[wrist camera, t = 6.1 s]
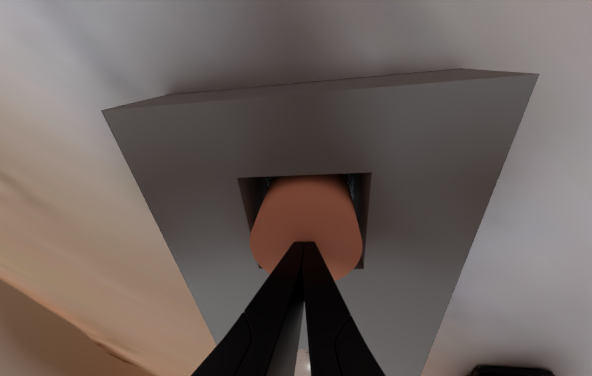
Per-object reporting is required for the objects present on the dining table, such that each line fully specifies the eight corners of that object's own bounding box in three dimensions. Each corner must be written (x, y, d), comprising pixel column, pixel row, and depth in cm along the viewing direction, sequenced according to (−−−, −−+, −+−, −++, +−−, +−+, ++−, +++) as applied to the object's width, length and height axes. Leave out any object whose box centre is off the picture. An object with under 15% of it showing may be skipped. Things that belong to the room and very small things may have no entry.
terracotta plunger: (351, 155, 11) (366, 200, 8) (348, 226, 13) (359, 286, 10) (263, 159, 11) (238, 203, 8) (274, 227, 14) (259, 284, 10)
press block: (462, 68, 10) (539, 74, 6) (393, 350, 22) (408, 406, 18) (166, 94, 12) (101, 110, 8) (252, 343, 23) (240, 393, 20)
